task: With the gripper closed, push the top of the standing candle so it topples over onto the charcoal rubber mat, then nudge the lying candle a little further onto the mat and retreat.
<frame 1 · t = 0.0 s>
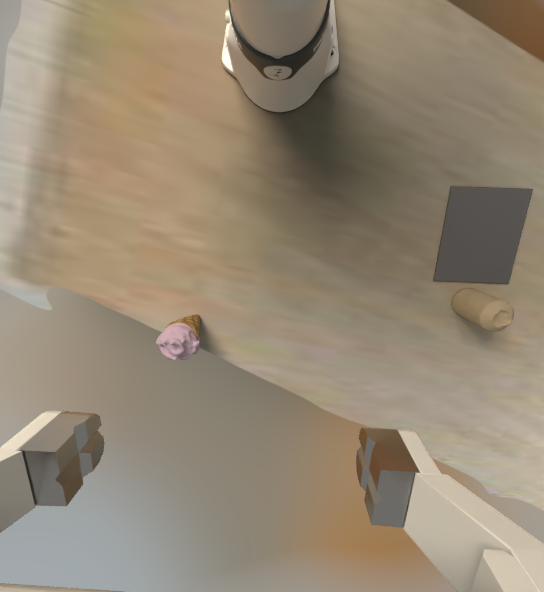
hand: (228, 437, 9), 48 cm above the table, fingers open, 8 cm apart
mat: (480, 236, 53), on the table
ice cream cone: (198, 318, 60), on the table
candle: (465, 301, 57), on the table
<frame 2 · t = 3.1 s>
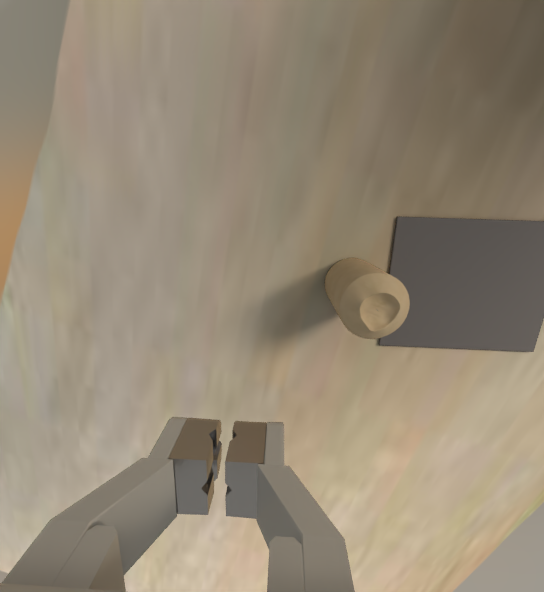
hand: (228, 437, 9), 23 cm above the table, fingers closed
mat: (467, 287, 31), on the table
candle: (349, 282, 31), on the table
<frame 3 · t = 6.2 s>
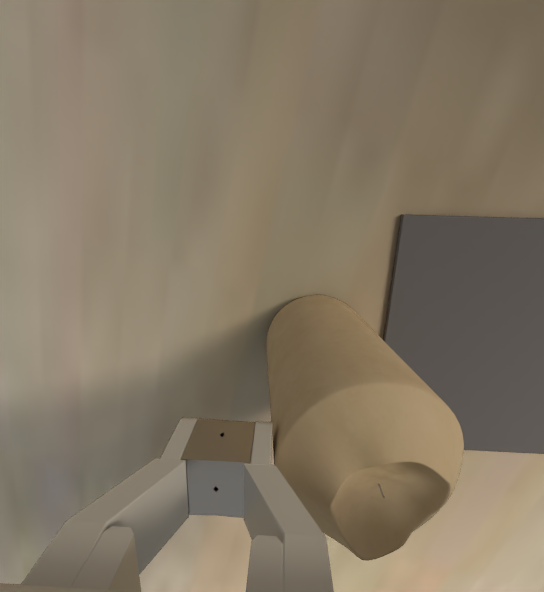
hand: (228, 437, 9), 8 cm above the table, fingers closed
mat: (534, 347, 16), on the table
candle: (313, 338, 17), on the table, touching gripper
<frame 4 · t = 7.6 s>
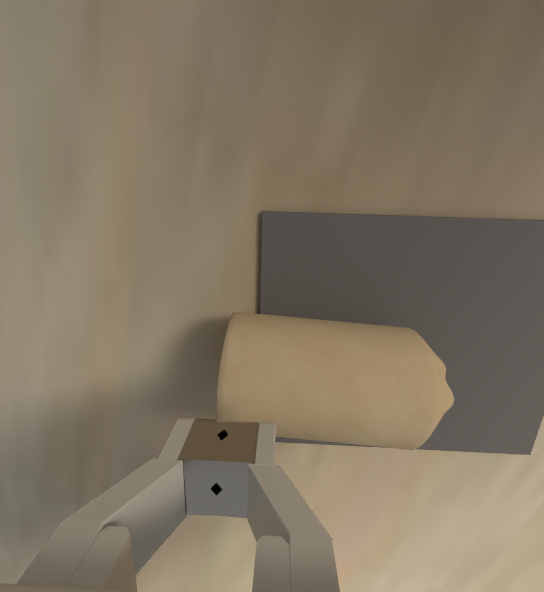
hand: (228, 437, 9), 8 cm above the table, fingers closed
mat: (407, 343, 17), on the table
candle: (223, 367, 14), point 3 cm above the table, touching mat
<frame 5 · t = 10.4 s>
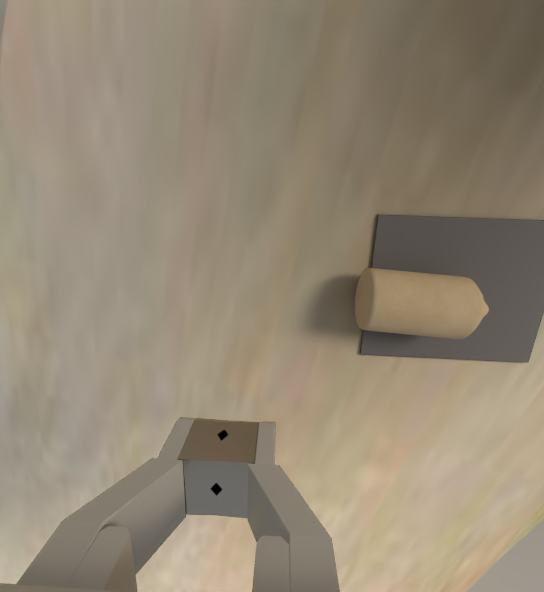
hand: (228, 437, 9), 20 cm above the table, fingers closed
mat: (456, 292, 28), on the table
candle: (360, 298, 26), point 3 cm above the table, touching mat
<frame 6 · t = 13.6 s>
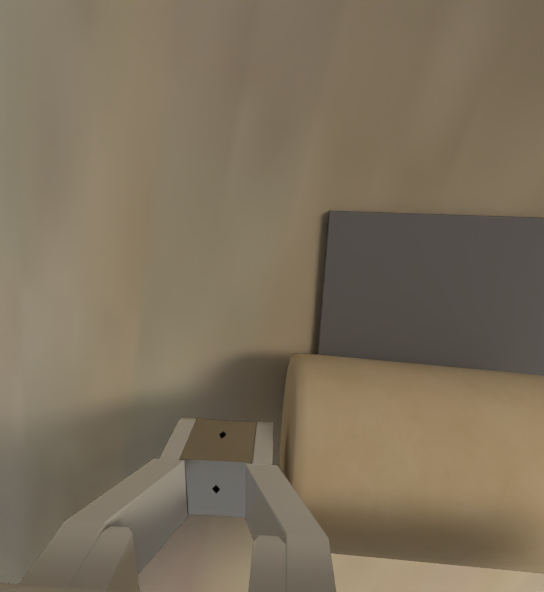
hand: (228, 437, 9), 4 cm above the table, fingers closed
mat: (517, 390, 12), on the table
candle: (278, 436, 9), point 3 cm above the table, touching gripper, mat
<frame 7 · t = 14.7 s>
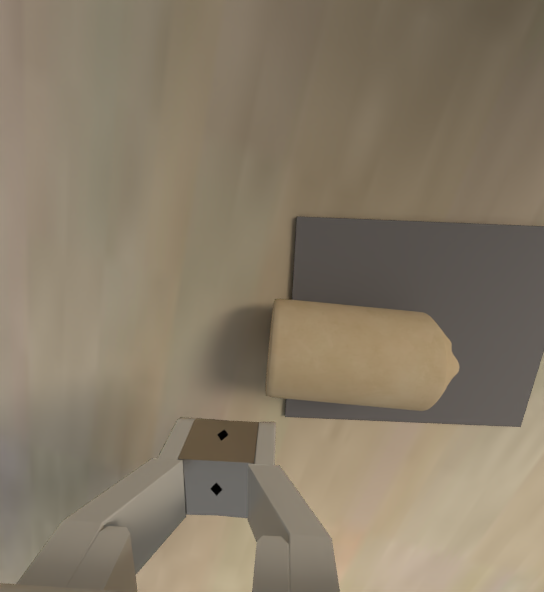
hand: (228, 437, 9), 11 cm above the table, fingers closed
mat: (416, 329, 19), on the table
candle: (265, 345, 16), point 3 cm above the table, touching mat
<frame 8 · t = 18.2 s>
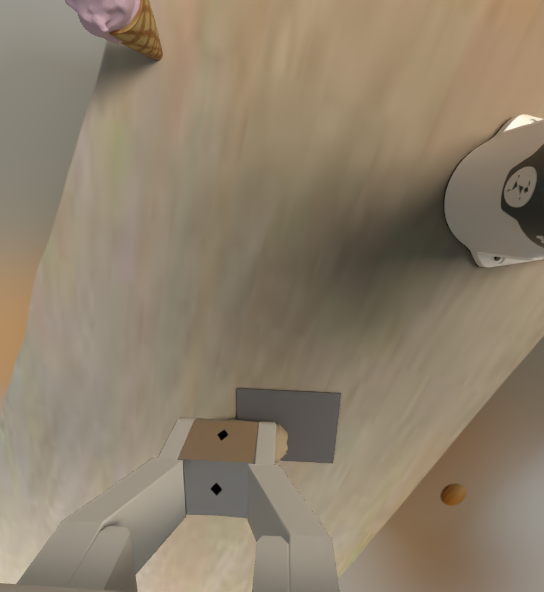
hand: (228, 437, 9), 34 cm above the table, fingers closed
mat: (286, 426, 49), on the table
ice cream cone: (156, 57, 36), on the table
candle: (224, 437, 47), point 3 cm above the table, touching mat
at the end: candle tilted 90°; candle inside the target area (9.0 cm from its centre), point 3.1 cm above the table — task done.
